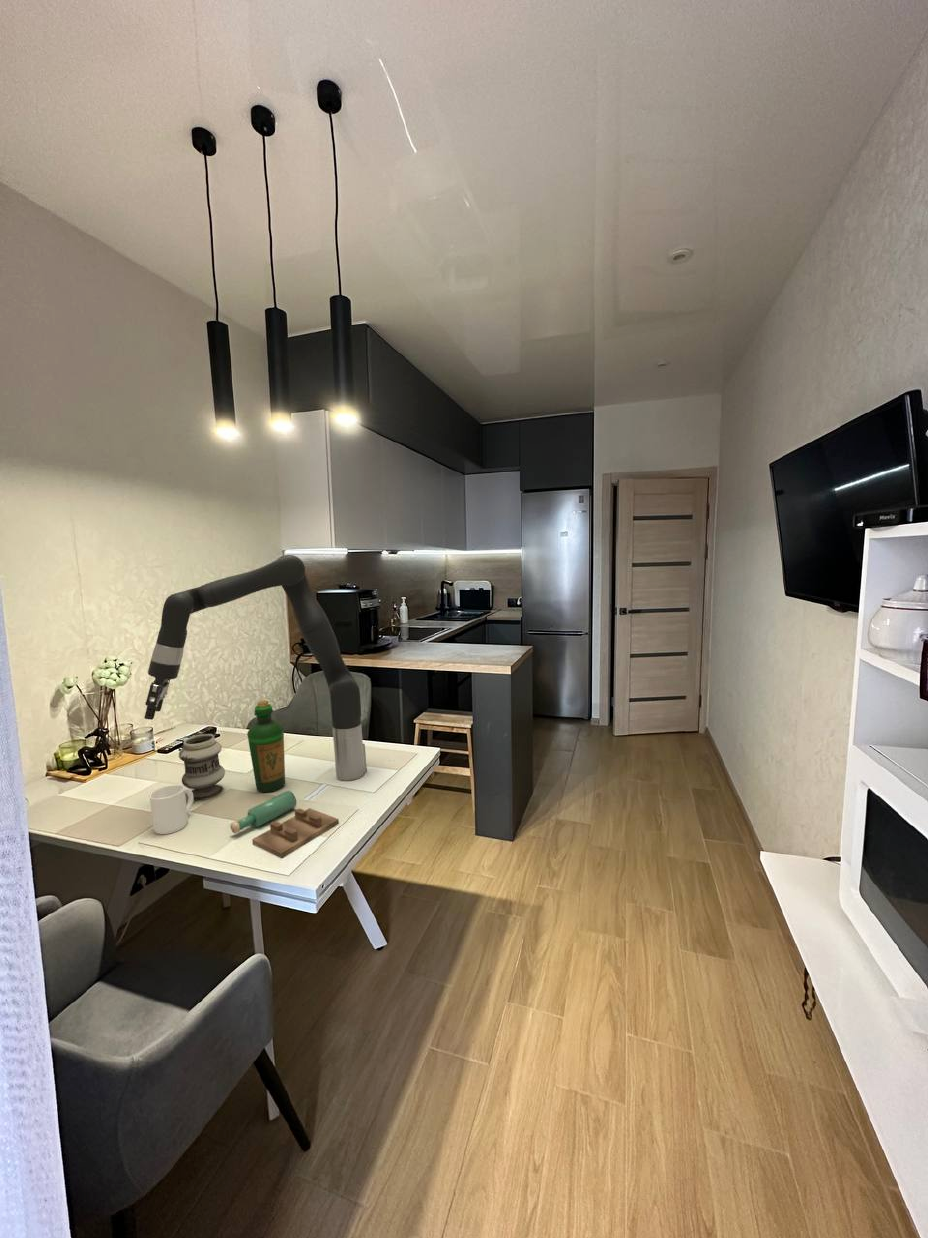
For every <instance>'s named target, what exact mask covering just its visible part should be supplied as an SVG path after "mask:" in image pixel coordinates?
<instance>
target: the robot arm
mask: <svg viewBox="0 0 928 1238" xmlns="http://www.w3.org/2000/svg"><path fill="white" fill-rule="evenodd" d="M309 583H310V582H309V580H308V577H307V575H306V566H305V563H304V562H303V561H302V560H301V559H300V558H299V556H296V555H292V554H283V555H281V556H279V557H278V558H277V559H275V560H274V561H271V562H270V563H267V564H266V565H264V566H261V567H258V568H256V569H254V570H251V571H250V570H249V571H247V572H243V573H239V574H236V575H231V576H227V577H224V578H221V579H217V580H214V581H211V582H208V583H205V584H202V585H201V586H198V587H194V588H190V589H185V590H183V591H180V592H175V593H173V594H170V595H169V596H167V598H166V599H165V601H164V603H163V607H162V612H161V621H160V628H159V631H158V634H157V639H156V642H155V645H154V647H153V650H152V654H151V658H150V660H149V661H150V662H149V664H148V666H149V667H148V670H147V674H148V676H150V677H153V678H154V680H153V681H152V682H151V684H150V685H149V690H148V693H147V697H146V700H145V703H144V704H145V706H146V710H145V713H144V719H146V720H151V721H152V720H154V718H155V715H156V712H160V711H161V710H162V708H163V703H164V700H165V698H166V696H167V694H168V690H169V688H170V687H169V686H170V682H171V680H175V679H177V678H178V676H179V672H180V668H181V664H182V660H183V657H184V648H185V646H186V641H187V635H188V630H187V628H188V624H189V620H190V617H191V615H192V614H194V613H197V612H200V611H203V610H205V609H207V608H214V607H217V606H220V605H224V604H226V603H230V602H232V601H236V600H238V599H241V598H243V597H246V596H249V595H251V594H254V593H256V592H257V593H258V592H260V591H263V590H267V589H270V588H271V589H272V588H276V587H282V589H283V590H284V593H285V594H286V596H287V599H288V600H289V602H290V605H291V607H292V610H293V615H294V616H295V620H296V623H297V627H298V628H299V631H300V634H301V636H302V638H303V640H304V642H305V644H306V646H307V648H308V649H309V651H310V653H311V654H312V656H313V658H314V659H315V661H316V662H317V663H318V665H319V666H320V668H321V669H322V673H323V676H324V678H325V681H326V684H327V687H328V692H329V696H330V697H329V698H330V699H329V700H330V709H331V725H332V738H333V752H334V763H335V777H336V779H338V780H340V781H353V780H357V779H359V778H362V777H364V775H365V773H366V772H367V771H368V768H367V766H368V765H367V754H366V753H367V752H366V745H365V743H363V742H364V741H363V732H362V730H363V729H362V703H361V692H360V687H359V684H358V683H357V681H356V679H355V678H354V676H353V675H352V674H351V672H350V670H349V669H348V667H347V665H346V662H345V661H344V659H343V656H342V654H341V650H340V646H339V643H338V640H337V637H336V635H335V634H336V633H335V632H334V629H333V627H332V625H331V623H330V620H329V618H328V616H327V614H326V612H325V610H324V609H323V608H322V606H321V605H320V603H319V601H318V600H317V599H316V597H315V595H314V594H313V591H312V589H311V586H310V584H309ZM152 700H154V701H152Z"/></svg>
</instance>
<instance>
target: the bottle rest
mask: <svg viewBox="0 0 928 1238" xmlns="http://www.w3.org/2000/svg"><path fill="white" fill-rule="evenodd" d="M339 823H340V822H339V818H336V817H333V816H331V815H328V814H326V813H324V812H322V811H321V812H320V811H318V810H315V809H313V808H311V807H309V808H307V809H305V810H304V809H302V808H300V807H299V808H298V809H296V810H294V816H293V817H291V818H289V819H287V820H285V821H282V822H281V823H280V821H277V820H276V821H273V822H271V823H270V824H269V826H270V827H269V828H270V829H269V830H266V831H265V832H262V833H261V834H258V835H257V836H255V837H254V838H252V839H251V841H252V845H255V846H256V847H259V848H261V849H263V850H265V851H267V852H268V853H271V854H273V855H275V856H277V857H278V858H281V859H282V858H284V857H286V856H287V855H289V854H291V853H292V852H295V851H296V850H297V849H300V848H301V847H302V846H304V845H307V843H309V842H311V841H312V840H314V839H316V838H317V837H319V836H320V835H322V834H324V833H325V832H327V831H329V830H330V829H332V828H334V827H336V826H337V825H338V824H339Z"/></svg>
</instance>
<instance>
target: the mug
mask: <svg viewBox="0 0 928 1238" xmlns="http://www.w3.org/2000/svg"><path fill="white" fill-rule="evenodd" d="M186 795H187V798H186ZM148 797H149V804H150V811H151V812H150V813H151V821H152V828H153V830H154V831H153V832H154V833H155V834H158V835H169V834H172V833H176V832H178V831H181V830H182V829H183V828H185V827H186V826H187V824H188V822H189V815H188V812H189V811H190V810H191V808H192V806H193V803H194V801H193V793H192V789H190V788H187V787H185V786H184V785H183V784H172V785H166V786H162V787H159V788H157V789H155V790H153V791H152V792H151V793H150V794H149V796H148ZM186 799H187V800H186Z"/></svg>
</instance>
